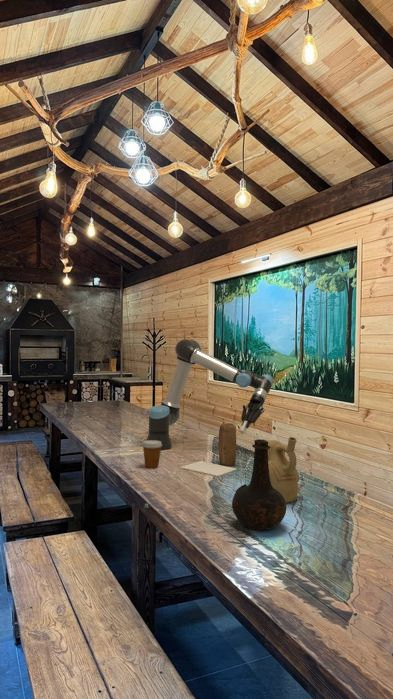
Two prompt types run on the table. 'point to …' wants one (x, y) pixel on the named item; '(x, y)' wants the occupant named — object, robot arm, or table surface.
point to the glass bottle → (259, 495)
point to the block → (227, 444)
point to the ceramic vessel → (283, 469)
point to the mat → (209, 468)
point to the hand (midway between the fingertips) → (242, 432)
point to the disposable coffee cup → (152, 453)
